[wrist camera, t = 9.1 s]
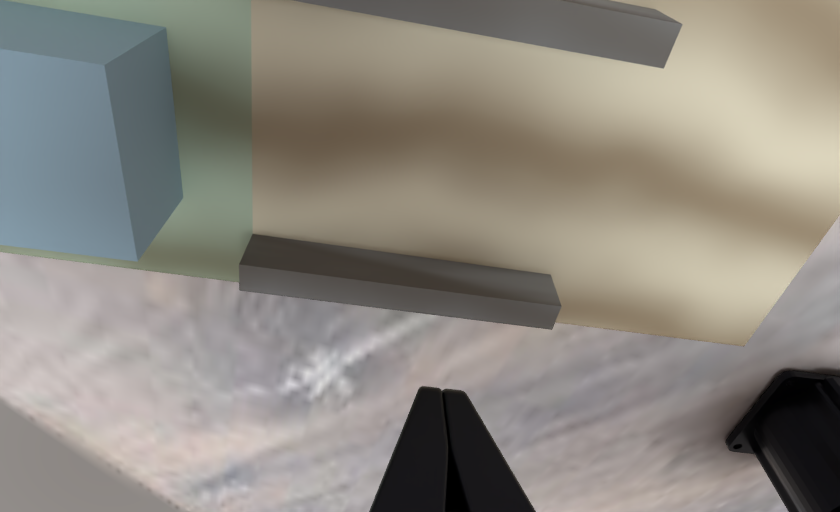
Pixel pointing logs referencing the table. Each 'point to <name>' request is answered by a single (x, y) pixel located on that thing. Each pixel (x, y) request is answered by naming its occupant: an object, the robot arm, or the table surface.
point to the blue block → (85, 133)
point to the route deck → (502, 155)
